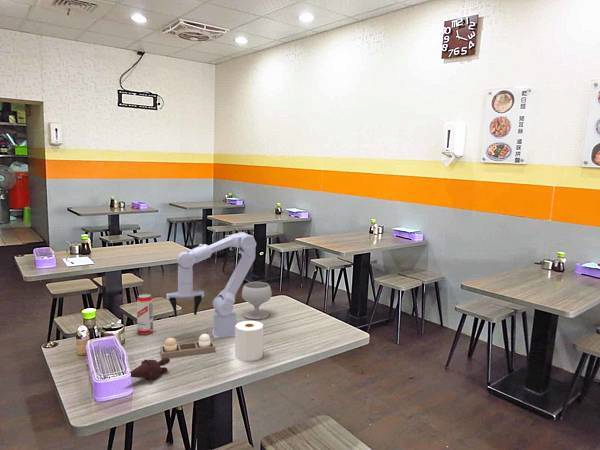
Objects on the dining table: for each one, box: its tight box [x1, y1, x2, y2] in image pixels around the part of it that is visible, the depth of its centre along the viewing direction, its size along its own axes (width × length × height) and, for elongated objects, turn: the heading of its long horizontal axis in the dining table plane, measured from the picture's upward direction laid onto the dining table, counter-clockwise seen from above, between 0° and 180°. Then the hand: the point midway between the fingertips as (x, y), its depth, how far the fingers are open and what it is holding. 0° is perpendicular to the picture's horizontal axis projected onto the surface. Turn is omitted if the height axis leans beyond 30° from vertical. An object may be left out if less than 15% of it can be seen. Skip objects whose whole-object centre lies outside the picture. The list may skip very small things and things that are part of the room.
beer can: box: [136, 293, 154, 336], centre depth 183 cm, size 6×6×16 cm
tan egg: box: [163, 337, 178, 353], centre depth 162 cm, size 4×4×6 cm
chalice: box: [241, 281, 273, 320], centre depth 207 cm, size 14×14×15 cm
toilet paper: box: [234, 320, 264, 362], centre depth 163 cm, size 10×10×12 cm
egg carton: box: [159, 339, 216, 360], centre depth 165 cm, size 20×7×2 cm, turn 112°
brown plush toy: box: [129, 358, 171, 382], centre depth 144 cm, size 7×7×15 cm
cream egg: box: [198, 333, 211, 348], centre depth 167 cm, size 4×4×6 cm
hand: (185, 315), depth 176 cm, fingers open, 7 cm apart
